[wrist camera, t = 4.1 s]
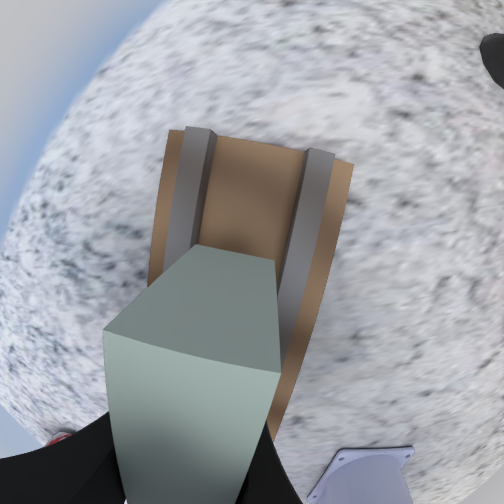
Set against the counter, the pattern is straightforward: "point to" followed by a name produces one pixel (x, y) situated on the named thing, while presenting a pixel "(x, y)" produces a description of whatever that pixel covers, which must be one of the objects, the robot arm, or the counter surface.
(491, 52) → the wooden tabletop sculpture
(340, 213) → the track board
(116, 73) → the counter surface
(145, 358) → the door panel
